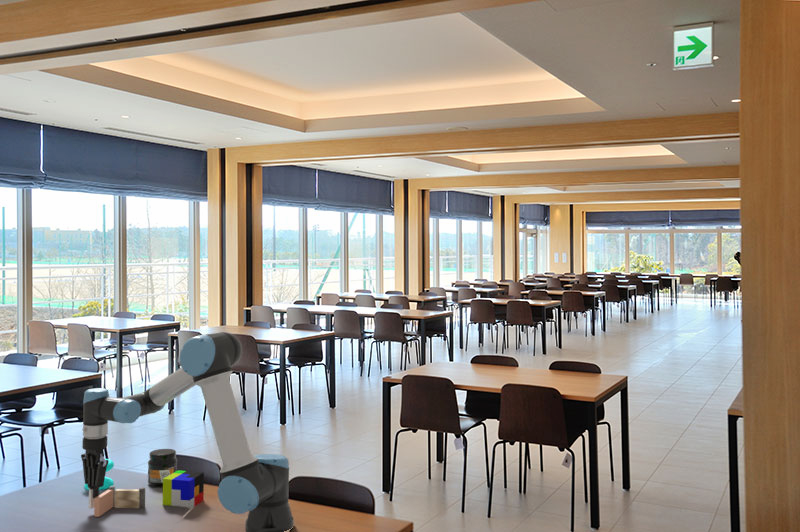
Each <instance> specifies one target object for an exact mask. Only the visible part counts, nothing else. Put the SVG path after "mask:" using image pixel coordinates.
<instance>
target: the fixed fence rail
mask: <svg viewBox="0 0 800 532" xmlns="http://www.w3.org/2000/svg"><path fill="white" fill-rule="evenodd" d="M145 508H146V488H145V487H139V488H137V489H136V488H133V489H132V488H131V489H130V488H129V489H128V488H124V489H123V488H115V506H114V509H145Z"/></svg>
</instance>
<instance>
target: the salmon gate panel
mask: <svg viewBox="0 0 800 532" xmlns="http://www.w3.org/2000/svg"><path fill="white" fill-rule="evenodd" d="M115 490H116V486H115V485H113V486H110V487H109V488H107V489H106V490H105V491H103V492H102V493H99V496H97V497H96V498H95V499H94V508H93V509H94V511H93V512H94V513H93V514H94V515H93V516H94V517H95V518H96V517H97V518H98V517H100V516H103V515H104V514H105V513H107V512H109V510H111V509H112V508H115Z"/></svg>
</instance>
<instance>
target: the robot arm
mask: <svg viewBox="0 0 800 532" xmlns="http://www.w3.org/2000/svg"><path fill="white" fill-rule="evenodd" d="M242 355H243V346H242V343H241V341H240V340H239V338H238V337H237V336H236V335H234V334H232V333H231V332H228V331H227V332H225V331H221V332H215V333H206V334H200V335H199V334H198V335H197V336H192V337H191V338H189V339H188V340H186V341H185V343H184V344H183V346H182V348H181V349H180V353H179V363H180V368H178V369H177V370H175V371H173V372H172V373H171V374H170V375H168V376H166V377H164V378H163V379H162V380H160V381H158V382H157V383H155V384H154V385H152V386H151V387H150V388H148V389H146V390H144V391H142V392H141V393H137V394H132V395H128V396H124V397H112V396H110V393H109V389H106V388H104V387H103V388H102V387H96V388H89V389H87V390H85V391H84V393H83V394H84V395H83V400H82V401H83V402H82V406H83V410H82V411H83V412H82V413H83V415H82V419H83V420H82V422H83V423H82V424H83V425H82V436H83V437H82V449H83V450H85V451H84V453H82V454H81V455H80V458H81V461H82V468H83V469H82V470H83V478H84V479H83V480H84V485H85V484H88V487H89V490H88V509H94V499H95V498H96V497H97V496H99V495H100V490H99V487H103V485H104V479H105V477H106V473H107V472H106V468H107V465H108V463H109V461H108V460H105V459H106V458H105V453H104V450H105V449H106V448H107V447H108V434H109V433H108V432H109V426H108V425H109V422H114V423H120V424H133V423H135V422H136V421H137V420H139V418H140V417H143V416H146V415H151V414H155V413H157V412H160V411H162V410H163V409H164V407H165V406H166V405H167V404H168V403H170V402H171V401H173V400H174V399H176V398H177V397H179V396H181V395H182V394H184V393H186V392H187V391H189V390H190V389H192V388H194V387H195V386H198V387H199V388H200V389H201V393H202V396H203V399H204V402H205V403H204V404H205V407H206V411H207V413H208V416H209V421H210V423H211V424H210V425H211V427H212V431H213V434H214V437H215V441H216V445H217V447H218V451H219V455H220V459H221V462H222V467H221V468H220V470H219V474H220V477H221V481H220V483H219V485H218V488H217V497H218V501H219V502H220V504H221V505H222V507H223V508H224V509H226V510H227V511H229V512H231V514H235V515H243V514H246V513H247V512H248V514H247V519H246V520H245V524H244V525H245V528H244V530H245V532H284V531H287V530H289V529H291V528H292V527H293V525H294V524H295V522H294V521H295V520H294V516H293V515H292V514H293V513H292V510H291V507H290V504H289V487H290V485H289V483H290V481H289V480H290V479H289V478H290V463H289V458H288V457H286V456H284V455H282V454H273V453H266V454H265V453H263V454H262V453H261V454H255V455H253V454H251V450H250V449H251V448H250V445H249V443H248V439H247V437H246V432H245V429H244V425H243V422H242V418H241V415H240V412H239V409H238V405H237V401H236V398H235V393H234V391H233V387H232V384H231V382H230V377H231V375H232V374H233V369H232V367H234V366H235V365H236V364H238V362H239V361H240V360H241V357H242ZM294 526H295V525H294Z"/></svg>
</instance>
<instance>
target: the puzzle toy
mask: <svg viewBox="0 0 800 532" xmlns="http://www.w3.org/2000/svg"><path fill="white" fill-rule="evenodd" d="M204 476H205V472H204V471H203V472H201V471H189V470H179V469H177V471H176V472H174V473H172V474H171V475H169V476H167V477H165V478H164V479H163V487H162V506H172V507H182V508H187V509H188V511H191V510H192V509H193V508H194V507H196V506H197V505H199V504H200V503H202V502H203V501H204V494H205V493H204V490H205V489H204V485H205V483H204V481H205V477H204Z"/></svg>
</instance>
